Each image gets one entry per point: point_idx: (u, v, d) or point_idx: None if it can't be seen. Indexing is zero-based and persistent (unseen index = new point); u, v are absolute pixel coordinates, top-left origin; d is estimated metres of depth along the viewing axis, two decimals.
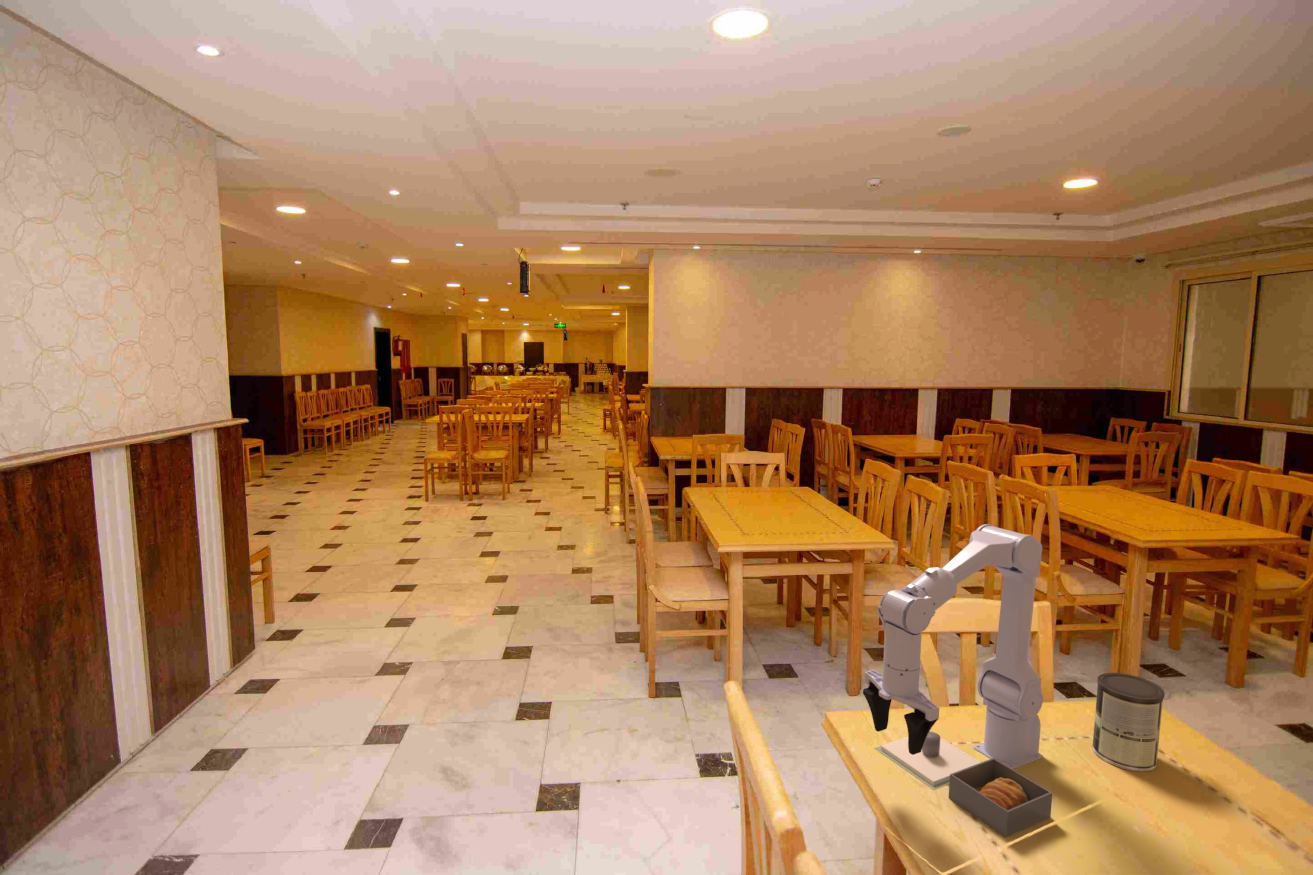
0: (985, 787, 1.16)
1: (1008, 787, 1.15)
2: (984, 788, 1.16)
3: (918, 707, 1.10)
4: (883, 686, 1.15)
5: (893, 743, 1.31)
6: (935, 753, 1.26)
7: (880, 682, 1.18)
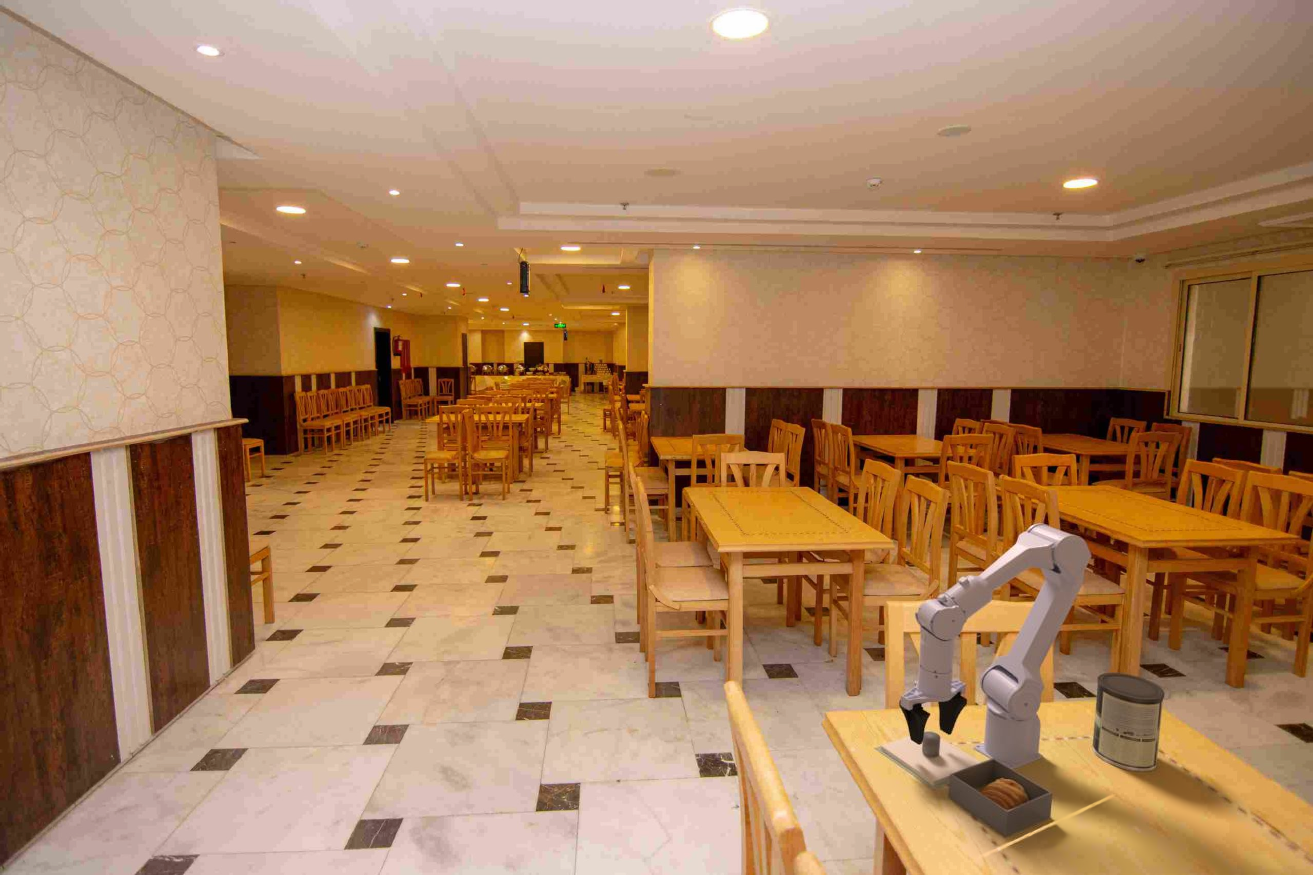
0: (986, 788, 1.16)
1: (1009, 788, 1.14)
2: (985, 789, 1.16)
3: None
4: None
5: (893, 743, 1.31)
6: (935, 753, 1.26)
7: None
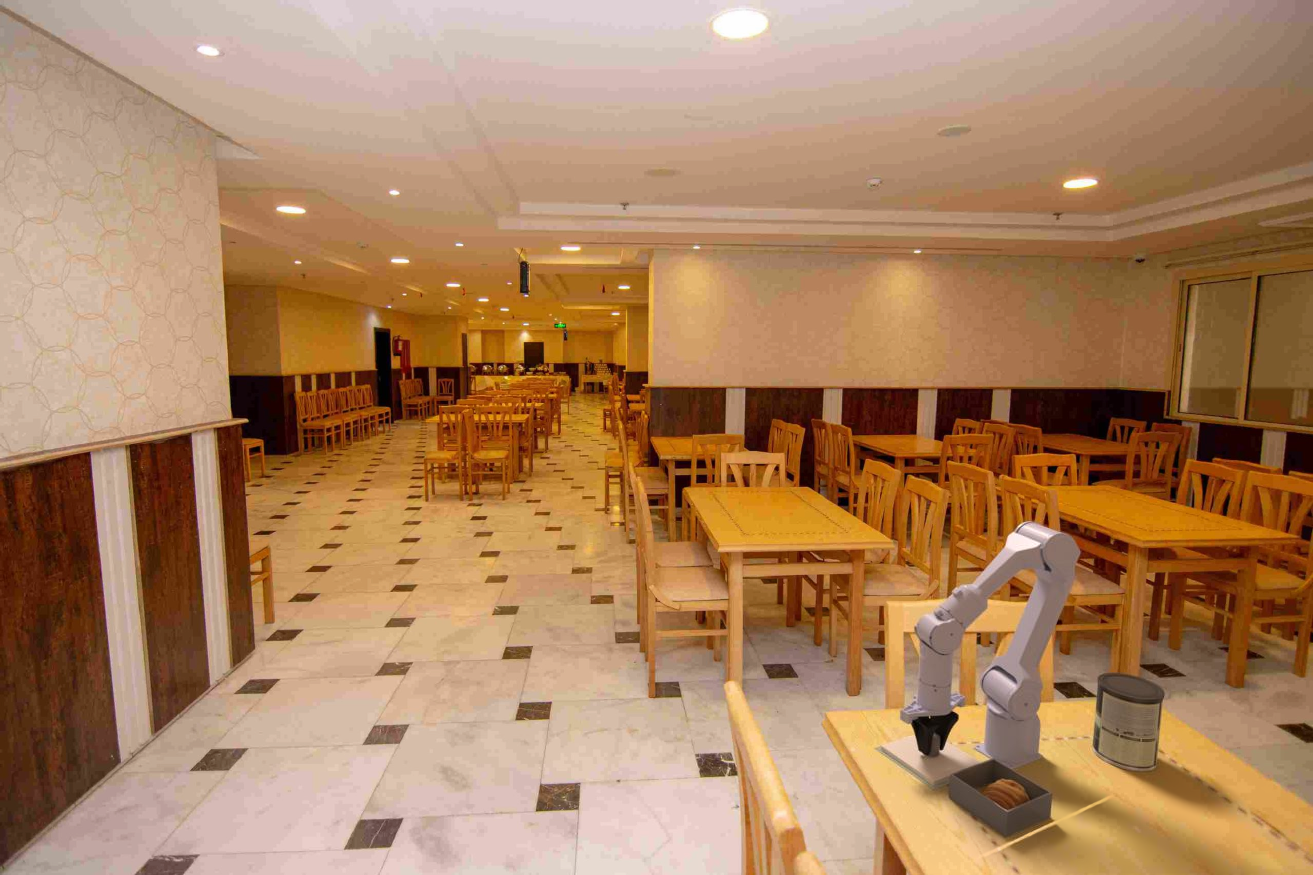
0: (987, 789, 1.15)
1: (1010, 788, 1.14)
2: (986, 790, 1.15)
3: None
4: None
5: (893, 743, 1.31)
6: (935, 753, 1.26)
7: None
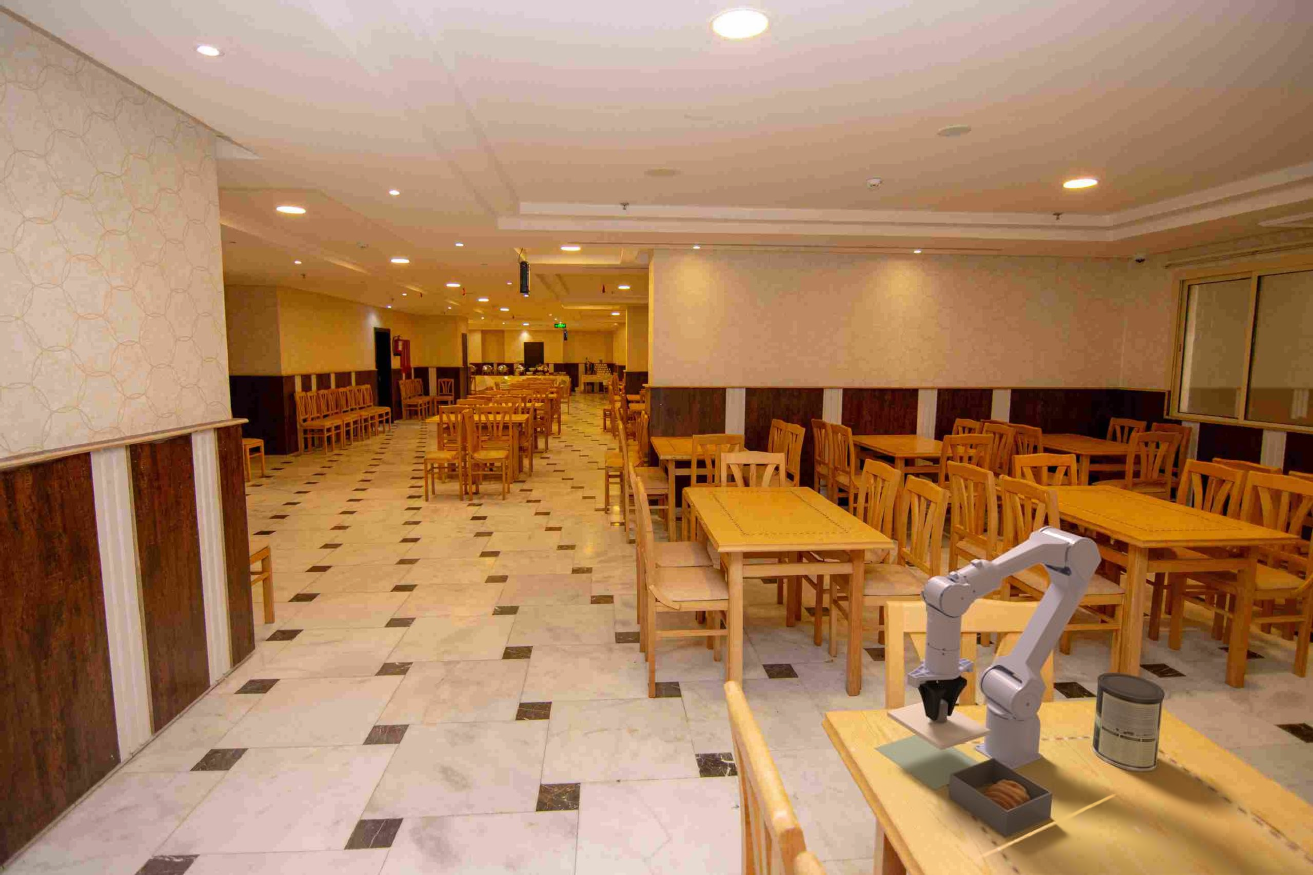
0: (989, 790, 1.15)
1: (1012, 789, 1.14)
2: (988, 791, 1.15)
3: None
4: None
5: (900, 710, 1.29)
6: (942, 719, 1.24)
7: None
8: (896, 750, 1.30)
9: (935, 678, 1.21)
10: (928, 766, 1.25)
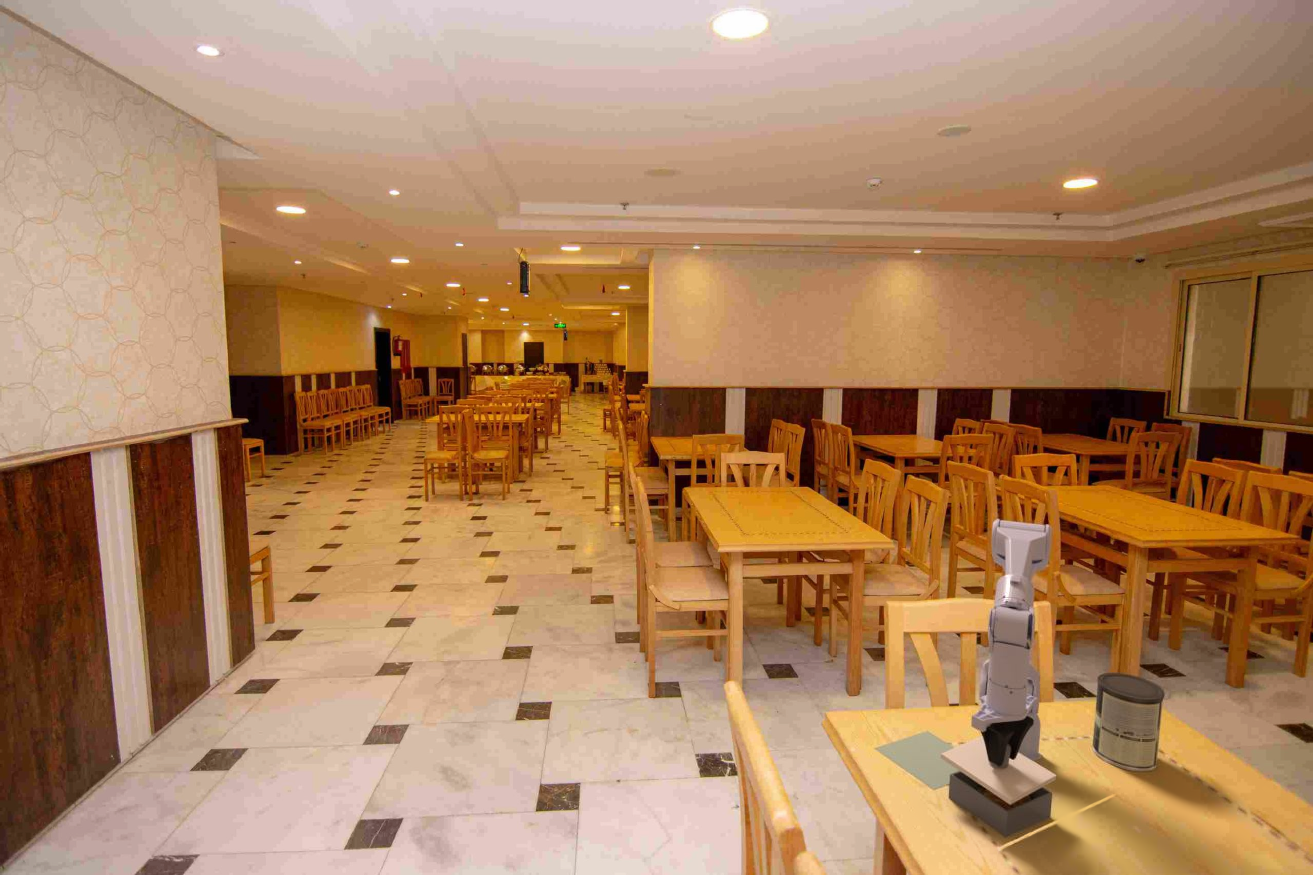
0: (989, 791, 1.15)
1: None
2: (988, 792, 1.15)
3: None
4: None
5: (954, 750, 1.17)
6: (1005, 764, 1.12)
7: None
8: (896, 750, 1.30)
9: (1003, 720, 1.09)
10: (928, 766, 1.25)
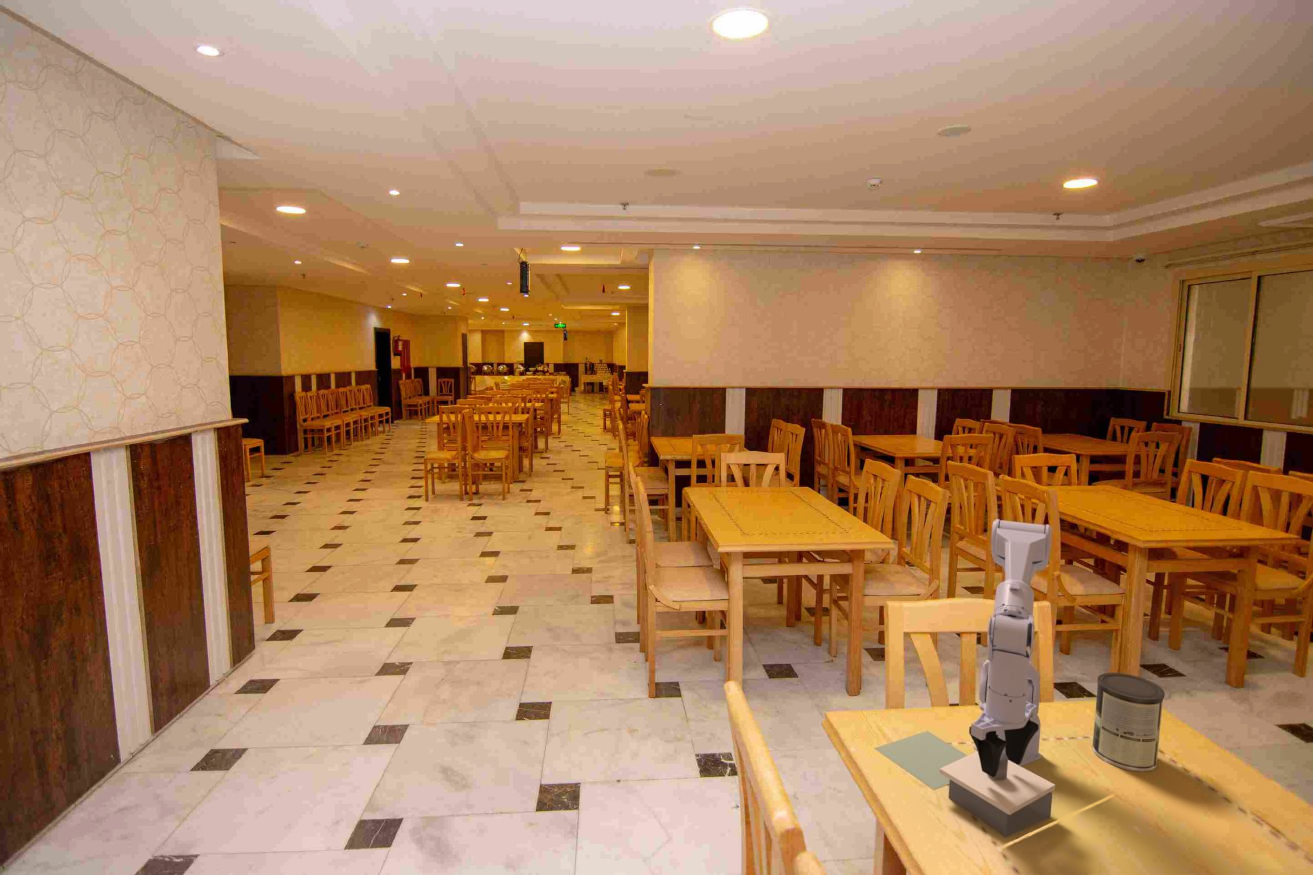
0: None
1: None
2: None
3: None
4: None
5: (953, 765, 1.17)
6: (1003, 776, 1.13)
7: None
8: (896, 750, 1.30)
9: (1002, 728, 1.09)
10: (928, 766, 1.25)
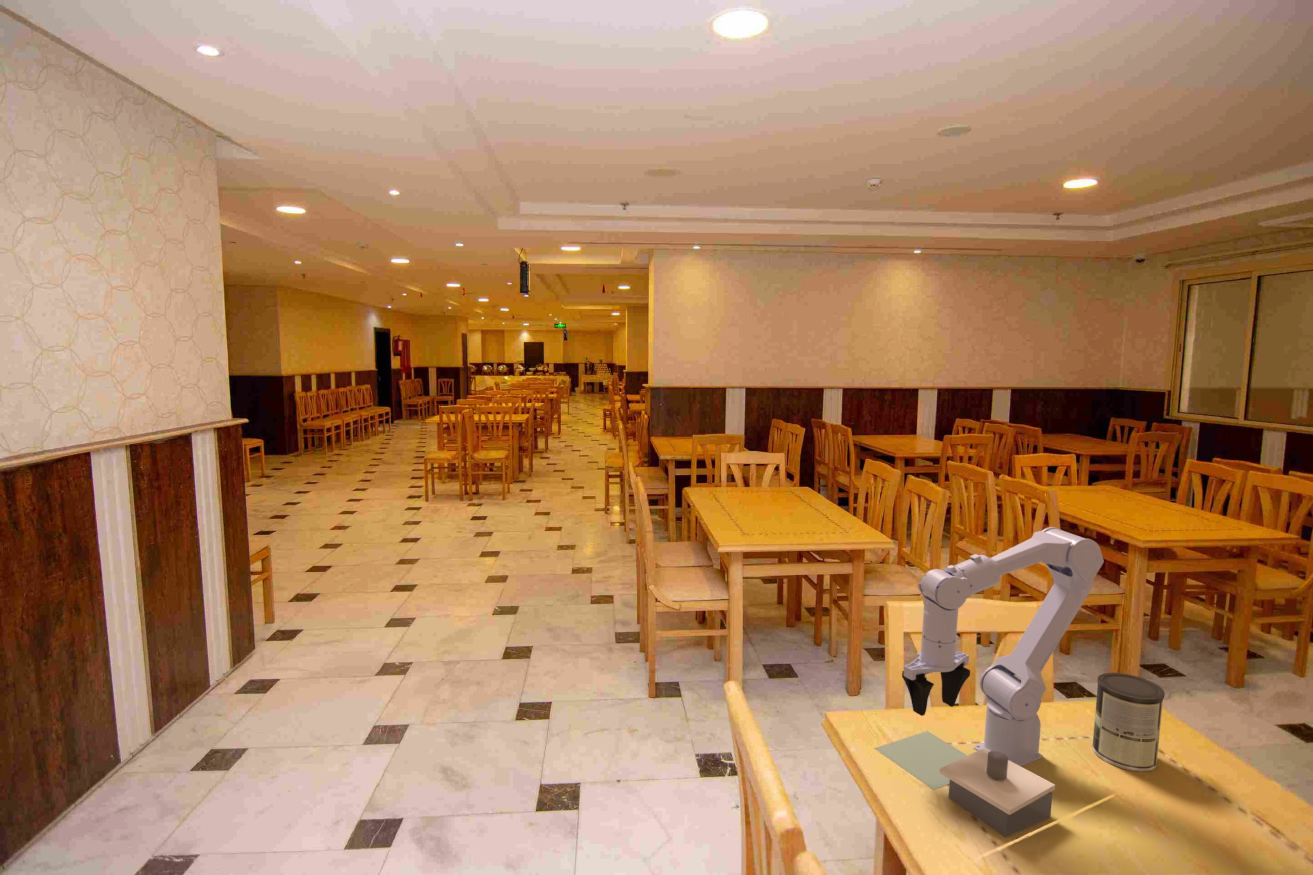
0: None
1: None
2: None
3: None
4: None
5: (953, 765, 1.17)
6: (1003, 776, 1.13)
7: None
8: (896, 750, 1.30)
9: (931, 670, 1.22)
10: (928, 766, 1.25)
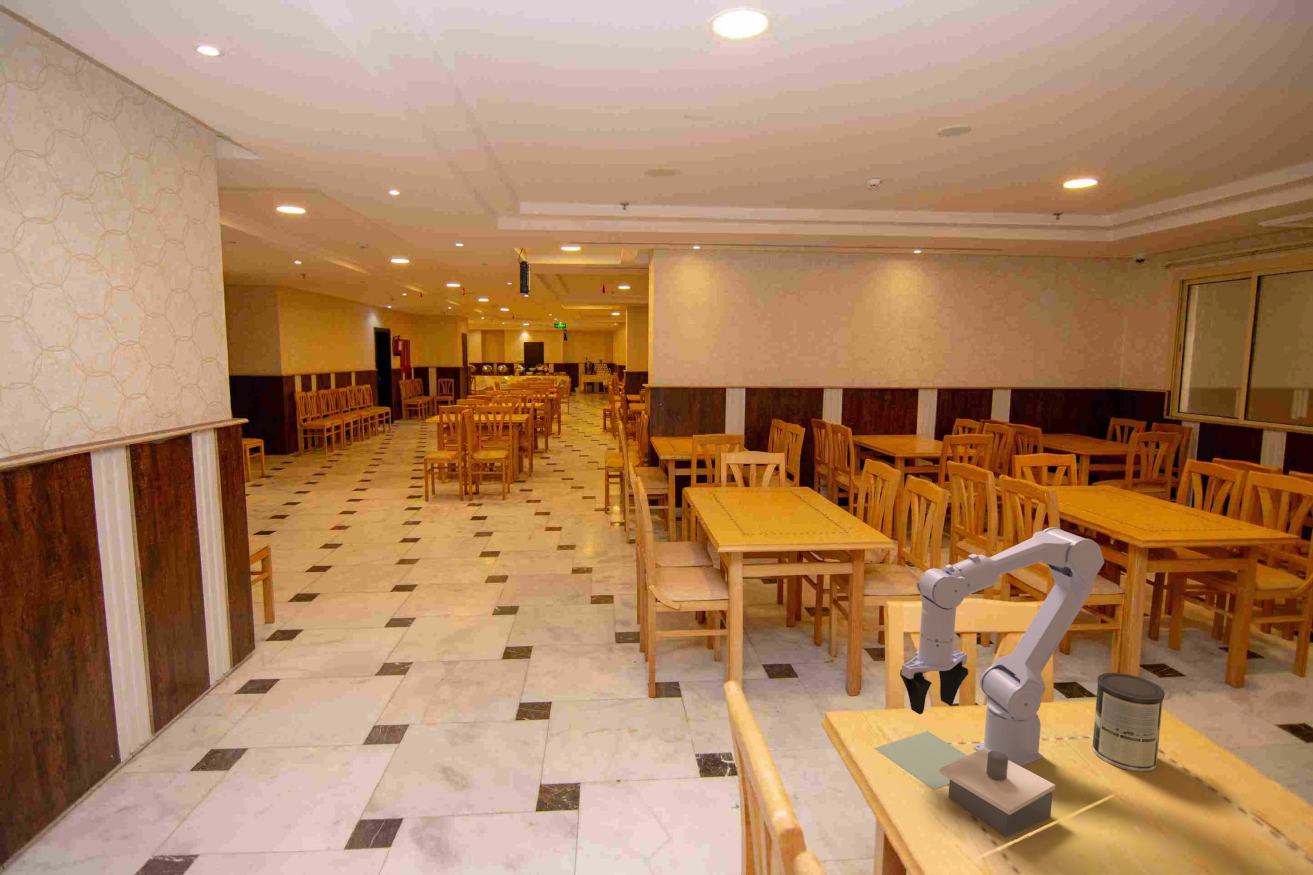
0: None
1: None
2: None
3: None
4: None
5: (953, 765, 1.17)
6: (1003, 776, 1.13)
7: None
8: (896, 750, 1.30)
9: (929, 669, 1.22)
10: (928, 766, 1.25)
